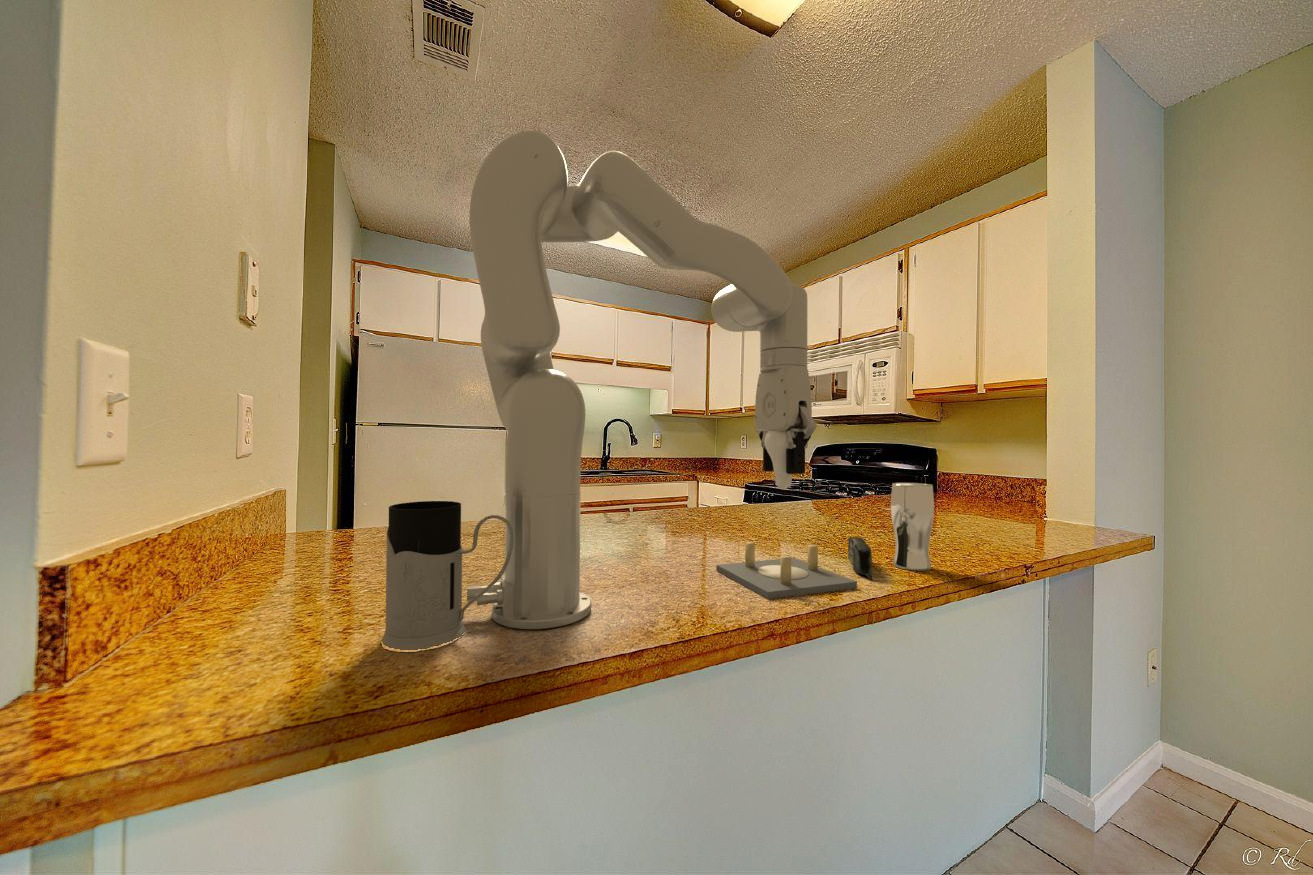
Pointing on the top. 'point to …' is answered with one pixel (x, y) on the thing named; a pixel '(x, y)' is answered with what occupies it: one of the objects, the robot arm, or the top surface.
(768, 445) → the lightbulb
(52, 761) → the top surface
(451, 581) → the glass holder
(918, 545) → the beer glass
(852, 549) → the mobile phone
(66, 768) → the top surface
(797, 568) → the pin board
